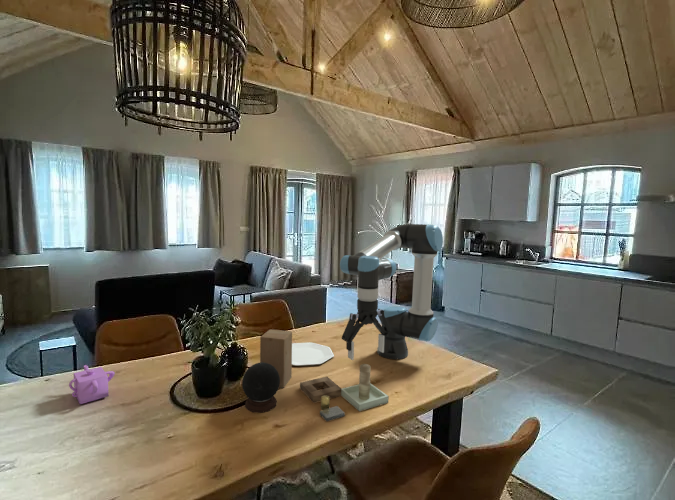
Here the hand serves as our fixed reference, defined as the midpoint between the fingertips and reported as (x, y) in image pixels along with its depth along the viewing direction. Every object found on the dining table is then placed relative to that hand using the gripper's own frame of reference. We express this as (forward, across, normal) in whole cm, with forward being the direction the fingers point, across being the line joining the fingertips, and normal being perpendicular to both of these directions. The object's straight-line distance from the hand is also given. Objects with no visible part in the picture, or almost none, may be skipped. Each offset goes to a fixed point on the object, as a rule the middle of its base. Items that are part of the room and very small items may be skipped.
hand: (366, 354), depth 133 cm
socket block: (+17, +13, -12) cm, 24 cm away
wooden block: (+17, +25, -28) cm, 41 cm away
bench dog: (+16, +17, -1) cm, 23 cm away
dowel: (+16, +1, 0) cm, 16 cm away
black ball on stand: (+16, +36, -14) cm, 42 cm away
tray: (+17, +1, 0) cm, 17 cm away
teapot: (+16, +88, -48) cm, 101 cm away
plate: (+18, +3, -48) cm, 51 cm away
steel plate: (+16, +17, +4) cm, 24 cm away
